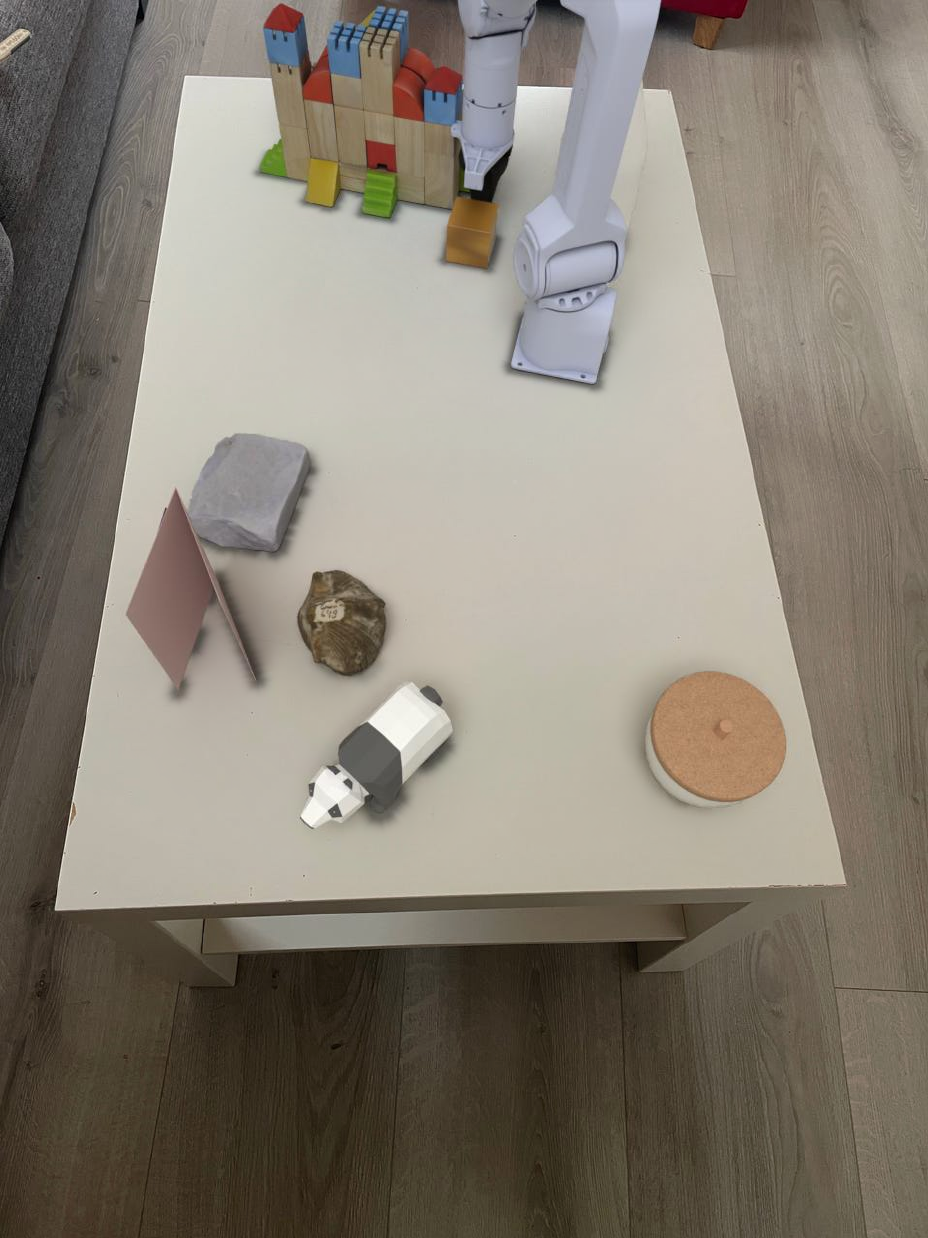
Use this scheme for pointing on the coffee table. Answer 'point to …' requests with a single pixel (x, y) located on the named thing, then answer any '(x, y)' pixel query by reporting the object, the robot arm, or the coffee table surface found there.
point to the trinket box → (714, 740)
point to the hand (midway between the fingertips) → (482, 204)
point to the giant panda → (379, 755)
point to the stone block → (248, 491)
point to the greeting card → (175, 592)
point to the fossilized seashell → (342, 622)
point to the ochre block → (471, 232)
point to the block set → (363, 113)
